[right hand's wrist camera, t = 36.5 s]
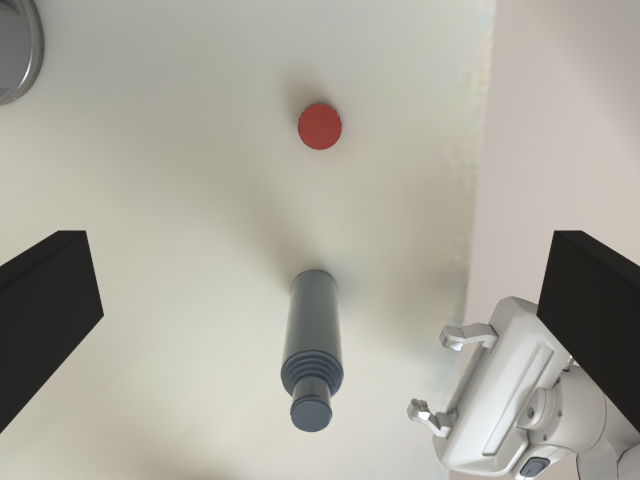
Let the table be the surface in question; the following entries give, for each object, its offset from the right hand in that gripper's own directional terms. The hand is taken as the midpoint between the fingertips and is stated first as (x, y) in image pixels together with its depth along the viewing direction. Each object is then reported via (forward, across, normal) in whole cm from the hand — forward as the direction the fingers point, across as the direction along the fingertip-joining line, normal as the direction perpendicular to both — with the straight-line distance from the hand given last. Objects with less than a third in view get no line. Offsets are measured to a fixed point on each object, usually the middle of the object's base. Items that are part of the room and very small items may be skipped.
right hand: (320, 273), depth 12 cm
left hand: (+25, +11, -24) cm, 36 cm away
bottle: (+36, -1, -20) cm, 41 cm away
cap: (+36, 0, 0) cm, 36 cm away
